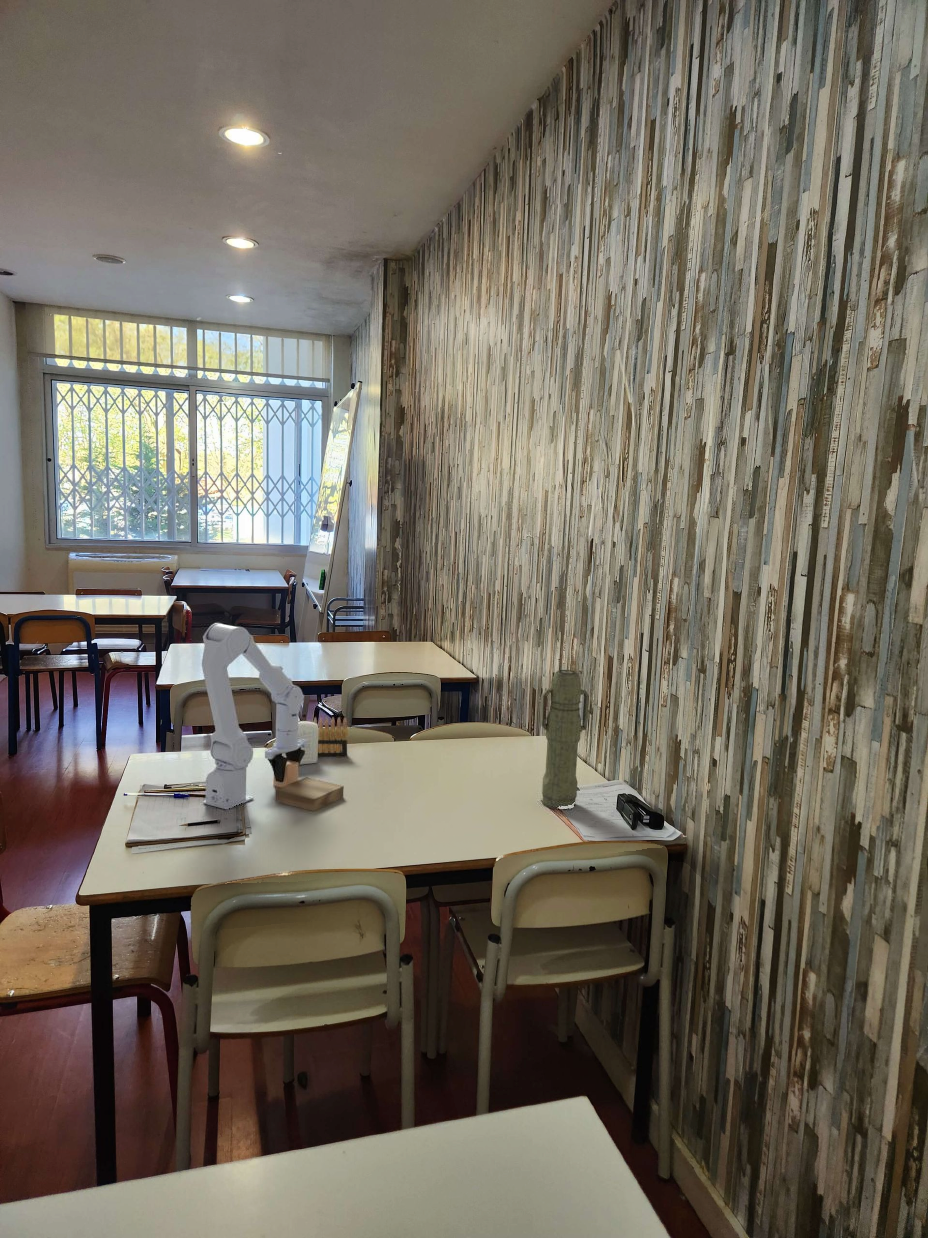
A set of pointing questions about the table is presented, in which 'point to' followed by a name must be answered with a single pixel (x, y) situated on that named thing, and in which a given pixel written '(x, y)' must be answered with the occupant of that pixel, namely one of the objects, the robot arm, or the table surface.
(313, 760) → the white stone tablet
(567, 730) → the thermos
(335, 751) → the ammunition clip
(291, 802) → the walnut plinth
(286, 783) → the terracotta block
